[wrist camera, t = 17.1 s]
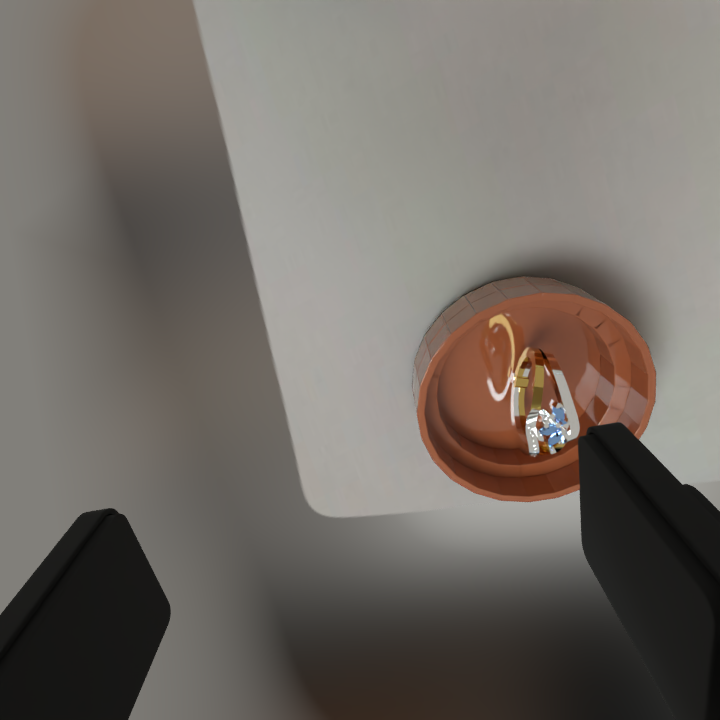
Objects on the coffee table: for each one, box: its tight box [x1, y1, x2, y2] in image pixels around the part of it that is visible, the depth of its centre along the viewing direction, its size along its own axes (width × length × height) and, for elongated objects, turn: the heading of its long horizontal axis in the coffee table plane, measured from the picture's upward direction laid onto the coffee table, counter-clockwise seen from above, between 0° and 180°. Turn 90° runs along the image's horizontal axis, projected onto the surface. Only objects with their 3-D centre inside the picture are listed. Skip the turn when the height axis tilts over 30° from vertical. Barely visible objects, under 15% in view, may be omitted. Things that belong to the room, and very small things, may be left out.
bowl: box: [412, 276, 656, 502], centre depth 33 cm, size 15×15×5 cm
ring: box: [511, 347, 580, 457], centre depth 31 cm, size 7×3×8 cm, turn 175°
